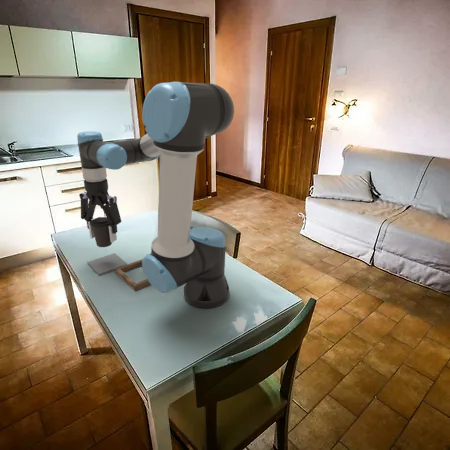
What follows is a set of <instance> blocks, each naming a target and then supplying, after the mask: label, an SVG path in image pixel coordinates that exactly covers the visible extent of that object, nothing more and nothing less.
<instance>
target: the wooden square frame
mask: <svg viewBox="0 0 450 450" xmlns="http://www.w3.org/2000/svg"><path fill="white" fill-rule="evenodd" d="M142 260H143V258H142V259H139V260H136V261H134V262H130V263H127V265H125V266H122V267H119V268H116V270H115V274H116V275H117V276H118V277H119V278H120V279H121V280H123V282H124V283H126V285H128V286H129V287H130V288H131V289H132V290H133V291H134V292H136V291H139V290H141V289H144V288H147V287H148V286H152V285H151V284H150V282H149V281H148V279H147V278H146V279H144V280H141V281H138V282H135V281H134V280H133V279H132V278H131V277H129V276H128V275H127V274H126V273H127V272H129V271H131V270H135V269H137V268H139V267H142Z"/></svg>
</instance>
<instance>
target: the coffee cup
mask: <svg viewBox="0 0 450 450" xmlns="http://www.w3.org/2000/svg"><path fill="white" fill-rule="evenodd" d="M89 224H90V225H91V226H92V230H93V233H94V241H95V244H96V246H97V247H98V248H107V247H110V246H112V244H113V242H111V241H110V233H109V225H110V223H109V221H108V219H107V217H106V216H99V217H96V218H95V217H94V218H93V219H92V220H91V221H90V223H89Z"/></svg>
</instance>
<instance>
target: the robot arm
mask: <svg viewBox="0 0 450 450" xmlns="http://www.w3.org/2000/svg"><path fill="white" fill-rule="evenodd" d="M141 113H142V123H143V126H145V128H144V130H145V132H146V133H145V134H144V135H143V136H140V137H138V138H134V139H127V140H117V141H104V139H103V135H102V133H101V132H100V131H92V130H91V131H89V130H88V131H81V132H80V131H79V133H77V135H76V136H77V147H78V153H79V157H80V158H79V159H80V164H81V171H82V178H83V184H84V190H85V191H83V192H81V193H79V195H78V196H79V199H80V219H82V220H85V222H86V226H87V227H86V228H87V229H88V231H89V237H90V238H89V239H95V237H94V233H93V230H92V226H91V225H90V224H89V223H90V221H91V220H93V219H94V215H95V211H96V207H97V206H98V207H100V209H101V210H102V211H103V213H104V214H105V217H107V219H108V221H109V223H110V225H109V233H110V241H111V242H112V243H114V242H115V241H117V237H118V236H117V233H118V225H119V224H121V223H122V219H121V215H120V210H119V206H118V203H117V202H118V201H117V200H118V198H117V196H116V195H114V196H112V195H110V194H109V183H108V179H107V177H108V175H107V169H109V170H116V171H117V170H121V168H123V167H124V166H127V165H131V164H135V163H143V162H151V161H154V160H157V159H159V171H158V172H159V175H158V176H159V177H158V205H157V206H158V208H157V209H158V210H157V211H158V212H157V213H158V214H157V236H156V237H155V238H153V239H152V240H151V241H152V242H151V245H150V248H151V249H150V250H151V252H150V253H149V254H146V255H145V256H144V257H143V258H142V259H143V260H142V259H141V260H142V266H141V267H142V270H143V274H144V275H145V277H146V279H148V281H149V282H150V284H151V285H150V286H152V287H153V288H154V289H155V290H157V291H158V292H160V293H163V294H164V293H165V294H166V293H169V292H171V291H174V290H177V289H178V288H180V287H181V286H183V285H184V287H183V298H184V300H185V302H186V303H187V304H189V305H190V306H193V307H196V308H199V309H214V308H216V307H217V308H218V307H220V306H222V305H224V304H225V303H226V302H227V301H228V299H229V297H230V287H229V284H228V280H227V278H226V274H225V269H226V249H227V248H226V247H227V244H226V236H225V234H224V233H223V232H222V231H220V230H218V229H216V228H213V227H206V226H205V227H204V226H199V227H193V228H192V226H191V225H192V215H193V204H194V193H195V183H196V181H195V180H196V170H197V159H198V155H199V154H201V153H202V152H203V151H204V150H205V143H206V139H208V138H210V137H212V136H214V135H219V134H222V133H224V132H225V131H226V130H227V129H228V128H229V127H230V125H231V124H232V123H233V120H234V117H235V106H234V101H233V99H232V97H231V96H230V94H229V92H227V90H226V89H225V88H223V87H221V86H220V85H218V84H215V83H208V82H207V83H205V82H204V83H203V82H202V83H201V82H200V83H199V82H183V81H182V82H181V81H171V82H160V83H157V84H155V85H154V86H153V87H152V88H151V89H150V90H149V91H148V92H147V94H146V96H145V98H144V102H143V106H142V112H141Z"/></svg>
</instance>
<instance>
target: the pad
mask: <svg viewBox="0 0 450 450" xmlns="http://www.w3.org/2000/svg"><path fill="white" fill-rule="evenodd" d="M86 263H87V265H88V266H89V268H91V269H92V270H93V271H94V272H95V273H96V274H97V275H98V276H99V277H100V276H102V275H103V276H104V275H106V274H108V273H111V272H115V271H116V268H119V267H122V266H125V265H127V264H128V263H127V262H126V261H124V260H123V259H122V258H121V257H120V256H118V255H117V254H116V253H111V254H108V255H104V256H102V257H101V256H100V257H99V258H95V259H93V260H89V261H87V262H86Z"/></svg>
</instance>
